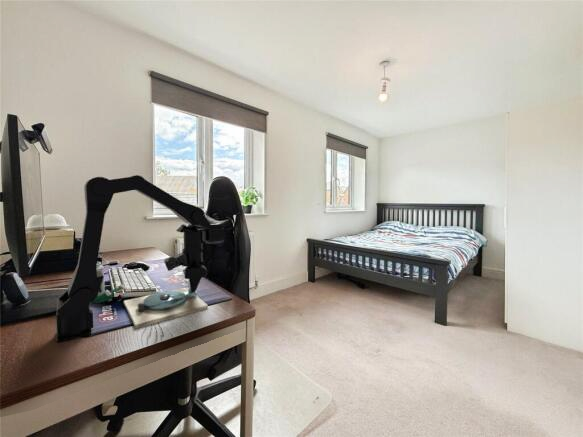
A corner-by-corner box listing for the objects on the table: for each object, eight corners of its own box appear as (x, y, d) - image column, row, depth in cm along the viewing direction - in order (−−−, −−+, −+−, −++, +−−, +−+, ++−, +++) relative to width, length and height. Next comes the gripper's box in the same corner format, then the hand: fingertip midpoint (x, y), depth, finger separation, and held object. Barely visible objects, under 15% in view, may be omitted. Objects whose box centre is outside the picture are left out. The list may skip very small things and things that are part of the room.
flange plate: (142, 315, 71) (142, 297, 70) (134, 301, 79) (133, 285, 79) (202, 299, 82) (202, 284, 82) (189, 289, 91) (189, 275, 90)
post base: (135, 328, 66) (135, 316, 66) (123, 303, 81) (123, 294, 81) (207, 308, 79) (207, 298, 79) (186, 290, 94) (186, 281, 94)
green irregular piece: (96, 310, 80) (107, 298, 79) (89, 301, 81) (99, 289, 79) (120, 298, 89) (130, 288, 88) (114, 290, 90) (124, 280, 88)
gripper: (165, 242, 87) (166, 286, 88) (165, 252, 70) (166, 306, 71) (199, 240, 92) (199, 282, 93) (207, 249, 75) (207, 300, 76)
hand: (193, 291), depth 83 cm, fingers closed
